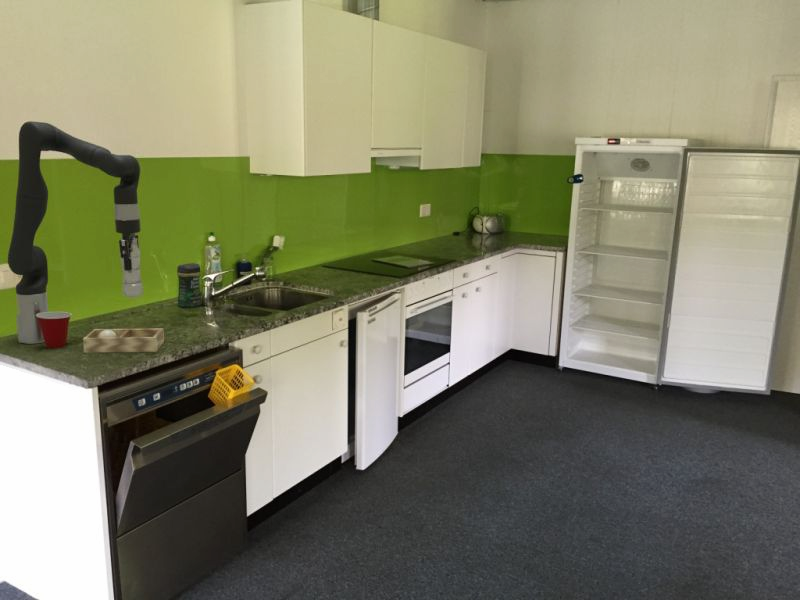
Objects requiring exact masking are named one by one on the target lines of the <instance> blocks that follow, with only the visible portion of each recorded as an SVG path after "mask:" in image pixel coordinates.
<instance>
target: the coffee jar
mask: <svg viewBox="0 0 800 600" xmlns="http://www.w3.org/2000/svg"><path fill="white" fill-rule="evenodd" d="M176 274H177V278H178V294H177V295H178V296H177V306H179V307H181V308H184V309H185V308H195V307H199V306H201V305H202V302H203V301H202V300H203V299H202V292H201V285H200V277H201V266H200V264H199V263H193V262H192V263H185V264H179V265H178V266H177V270H176Z"/></svg>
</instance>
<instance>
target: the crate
mask: <svg viewBox="0 0 800 600" xmlns="http://www.w3.org/2000/svg"><path fill="white" fill-rule="evenodd" d="M104 330H112V331H114V332H115V333H116V335H117V338H98V336H99V334H100V333H101V332H102V331H104ZM164 342H165V336H164V328H163V327H162V328H94V329H92V330H91V331H90V332H89V333H88V334H87V335H85V336H84V337H83V338H82V343H83V344H82V345H83V353H88V354H89V353H91V354H92V353H146V352H147V353H148V352H150V353H152V352H154V353H155V352H158V350H159V349H160V348H161V346H162V345H163V344H164Z"/></svg>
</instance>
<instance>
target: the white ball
mask: <svg viewBox="0 0 800 600" xmlns="http://www.w3.org/2000/svg"><path fill="white" fill-rule="evenodd" d="M98 338H117V335H116V333H115V332H114V331H112V330H104V331H102V332H101V333H100V334H99V336H98Z"/></svg>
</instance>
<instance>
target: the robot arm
mask: <svg viewBox="0 0 800 600" xmlns="http://www.w3.org/2000/svg"><path fill="white" fill-rule="evenodd" d="M49 151H50V152H58V153H63V154H66V155H68V156H70V157H72V158H74V159H75V160H76V161H78V162H80V163H82V164H84V165H86V166H89V167H92V168H95V169H98V170H100V171H101V172H103V173H104V174H106V175H108V176H110V177H114V178H119V179H120V181H119V184H117V185H115V186H114V187H113V198H114V199H113V201H114V202H113V203H114V210H113V212H114V224H115V225H114V227H115V232H116V233H117V234H121V239H119V241H118V243H119V256H120V255H121V258H123V259H124V270H125V271H131V270H132V262H131V253H132V252H133V247H134V244H135V245H136V246H137V248H138V249H139V248H140V247H139V245H140V244H139V243H140V242H139V235H138V233H141V218H140V208H139V203H138V202H139V201H138V187H139V180H140V175H141V166H140V162H139V161H138V158H136V157H135V156H133V155H131V154H115V153H112V152H111V151H110V150H109V149H108V148H105V147H103V146H100V145H97V144H94V143H91V142H89V141H85V140H83V139H80V138H77V137H75V136H73V135H71V134H69V133H67V132H65V131H64V130H62V129H61V128H58V127H57V126H55V125H53V124H51V123H48V122H44V121H43V122H42V121H32V120H31V121H25V122H24V123H23V124H22V125H21V126H20V129H19V132H18V176H17V178H18V179H17V189H16V196H15V209H14V220H13V227H12V235H11V240H10V244H9V249H8V253H7V264H8V268H9V270H10V271H11V272H12V273H13V274H15V275H16V276H17V275H18V276H21V279H20V281H19V282H18V283H17V284H16V285H15V292H16V293H15V295H16V303H17V312H18V315H16V317H15V318H16V328H17V339H18V343H20V344H21V343H22V344H26V345H27V344H30V345H33V344H40V343H42V344H43V343H45V340H44V338H43V334H42V331H41V327H40V324H39V321H38V318H37V317H36V314H38V313H43V312H49V305H48V292H47V285H48V283H49V273H48V272H49V271H48V270H49V269H48V268H49V267H48V259H47V255H46V253H45V251H44V250H43V248H41V247H40V246H39V245H38V246H37V245H35V243H34V241H35V237H36V233H37V231H38V229H39V227H40V225H41V224H42V222H43V220H44V218H45V216H46V213H47V210H48V203H49V202H48V201H49V190H48V189H49V188H48V186H47V184H46V182H45V178H44V177H43V173H42V171H41V156H42V155H41V154H42V152H49ZM133 237H135V239H131V238H133ZM129 248H131V249H129ZM139 250H140V249H139ZM125 252H127V254H125ZM121 258H120V259H121Z"/></svg>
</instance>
